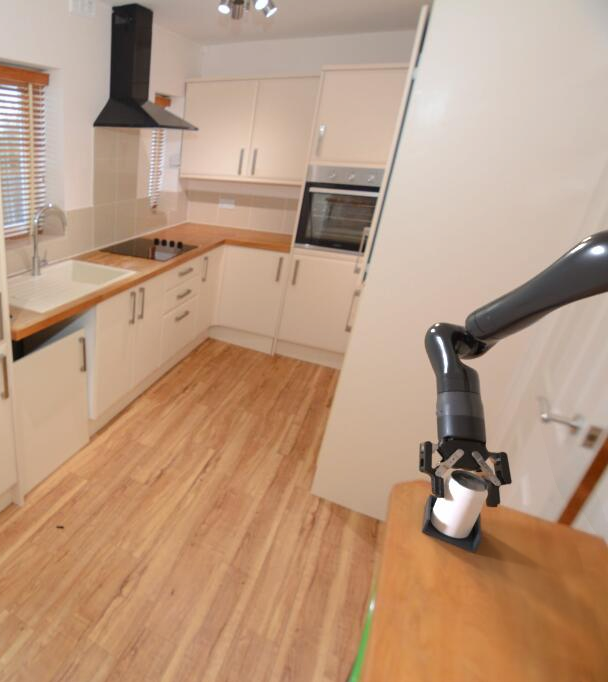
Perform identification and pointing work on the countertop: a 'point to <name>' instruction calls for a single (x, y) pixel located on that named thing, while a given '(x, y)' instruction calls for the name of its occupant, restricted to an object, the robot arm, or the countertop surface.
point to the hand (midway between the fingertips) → (465, 502)
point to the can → (459, 504)
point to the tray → (465, 543)
